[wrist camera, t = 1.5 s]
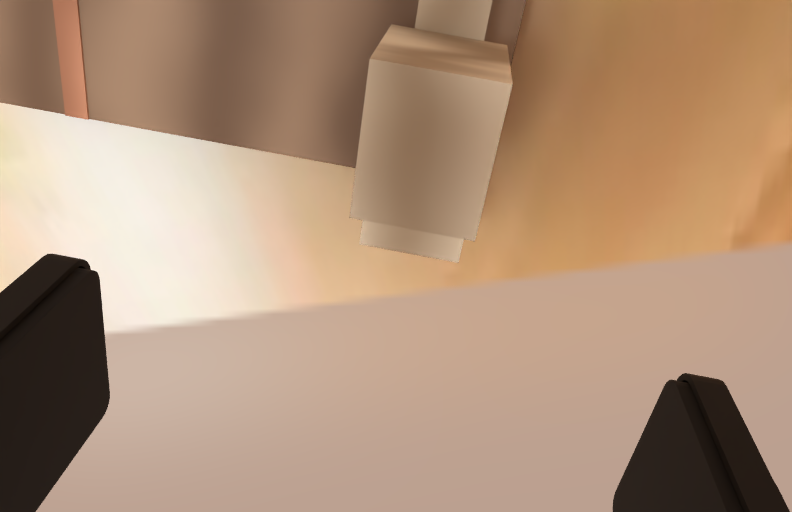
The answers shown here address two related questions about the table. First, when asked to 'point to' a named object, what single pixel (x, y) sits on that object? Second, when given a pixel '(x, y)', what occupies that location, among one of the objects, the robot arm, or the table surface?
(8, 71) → the board
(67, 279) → the robot arm
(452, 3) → the stacked wooden blocks
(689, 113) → the table surface
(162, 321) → the table surface
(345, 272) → the table surface
